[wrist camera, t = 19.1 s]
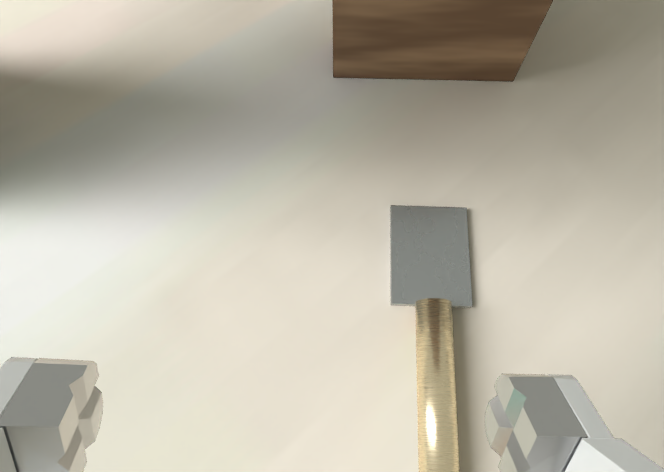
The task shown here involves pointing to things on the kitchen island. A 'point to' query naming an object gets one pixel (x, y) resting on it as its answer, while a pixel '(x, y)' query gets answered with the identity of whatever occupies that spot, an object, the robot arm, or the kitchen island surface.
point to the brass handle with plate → (432, 316)
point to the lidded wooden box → (434, 38)
